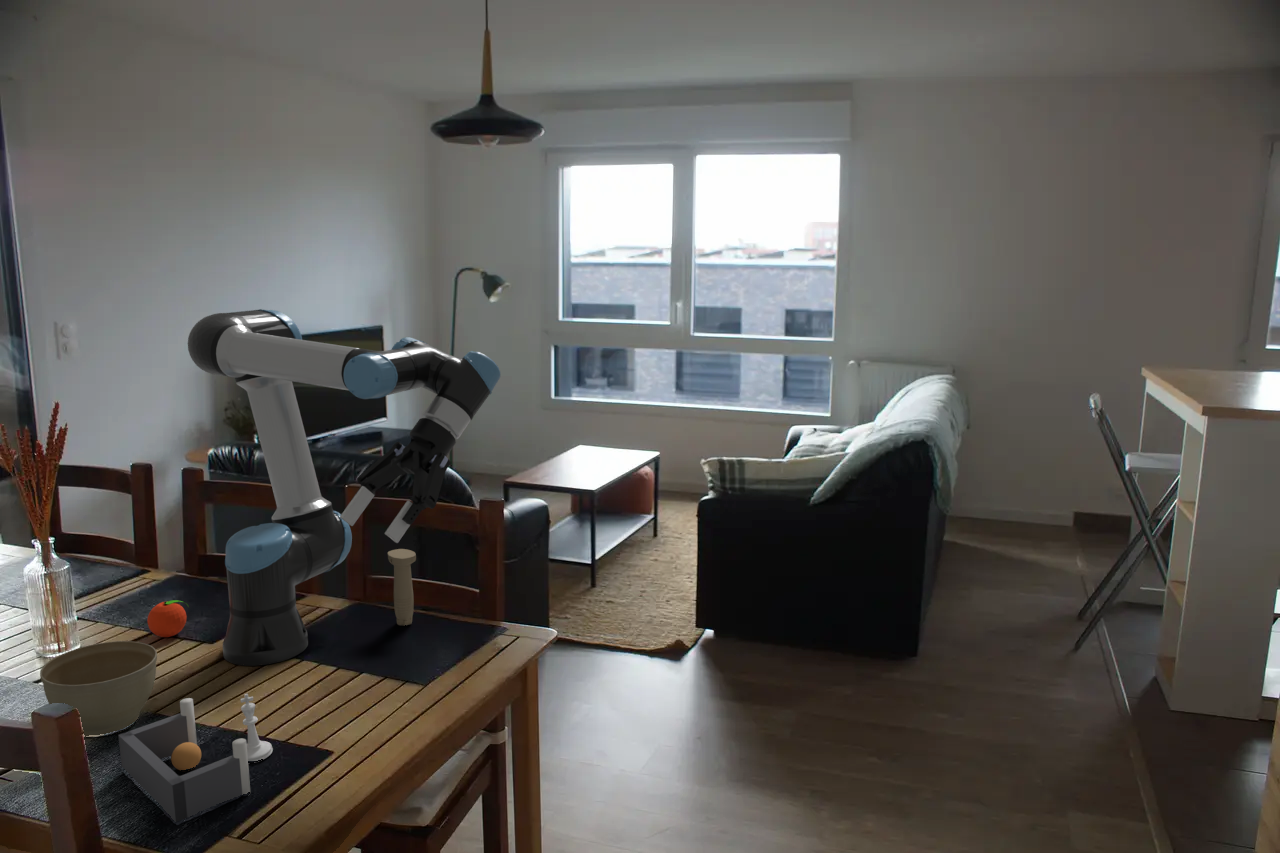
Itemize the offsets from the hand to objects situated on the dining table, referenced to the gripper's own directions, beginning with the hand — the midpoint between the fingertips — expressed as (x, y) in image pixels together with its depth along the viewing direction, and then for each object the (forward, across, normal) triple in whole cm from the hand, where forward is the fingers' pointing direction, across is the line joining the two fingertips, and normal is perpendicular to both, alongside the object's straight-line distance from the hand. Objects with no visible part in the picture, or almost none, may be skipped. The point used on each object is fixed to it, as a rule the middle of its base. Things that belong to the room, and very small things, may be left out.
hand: (367, 529), depth 154 cm
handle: (+6, +23, -36) cm, 43 cm away
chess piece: (+37, -3, -5) cm, 38 cm away
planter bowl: (+46, +23, +4) cm, 51 cm away
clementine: (+31, +52, -12) cm, 61 cm away
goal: (+44, -3, +2) cm, 44 cm away
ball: (+42, 0, +3) cm, 42 cm away
